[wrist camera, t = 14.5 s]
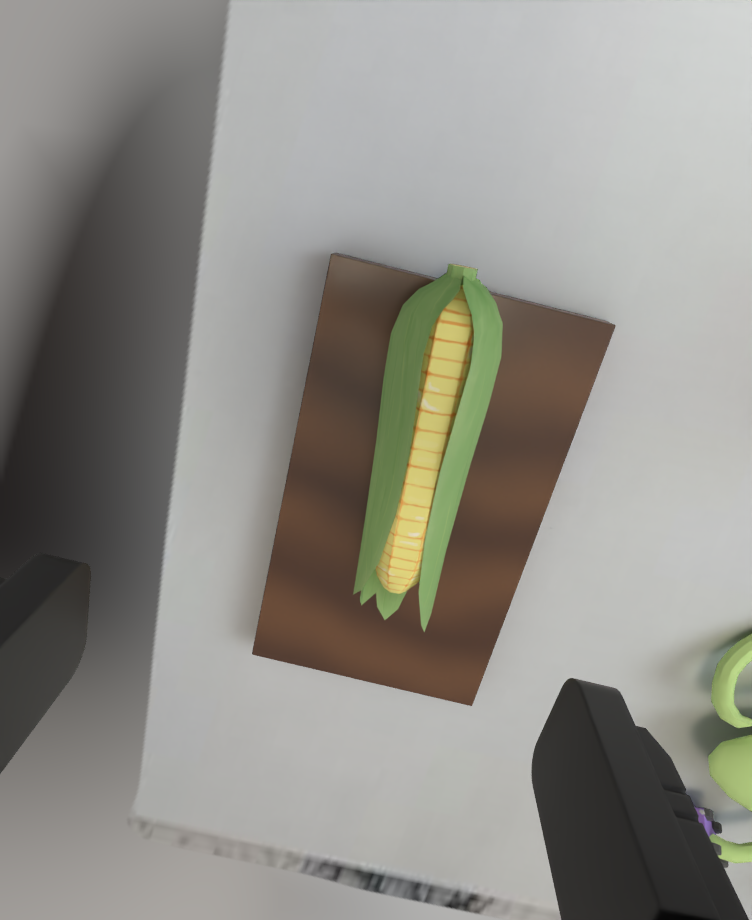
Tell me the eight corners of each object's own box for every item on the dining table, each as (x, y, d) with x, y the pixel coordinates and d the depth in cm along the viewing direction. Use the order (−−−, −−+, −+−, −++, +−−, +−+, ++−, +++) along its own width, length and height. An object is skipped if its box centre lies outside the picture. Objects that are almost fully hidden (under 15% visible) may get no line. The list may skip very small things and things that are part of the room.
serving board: (335, 252, 30) (331, 253, 28) (606, 321, 30) (616, 325, 29) (257, 639, 38) (251, 654, 37) (470, 689, 39) (471, 706, 37)
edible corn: (514, 273, 28) (531, 280, 24) (428, 623, 35) (430, 677, 31) (405, 253, 28) (403, 257, 24) (342, 607, 35) (332, 659, 31)
